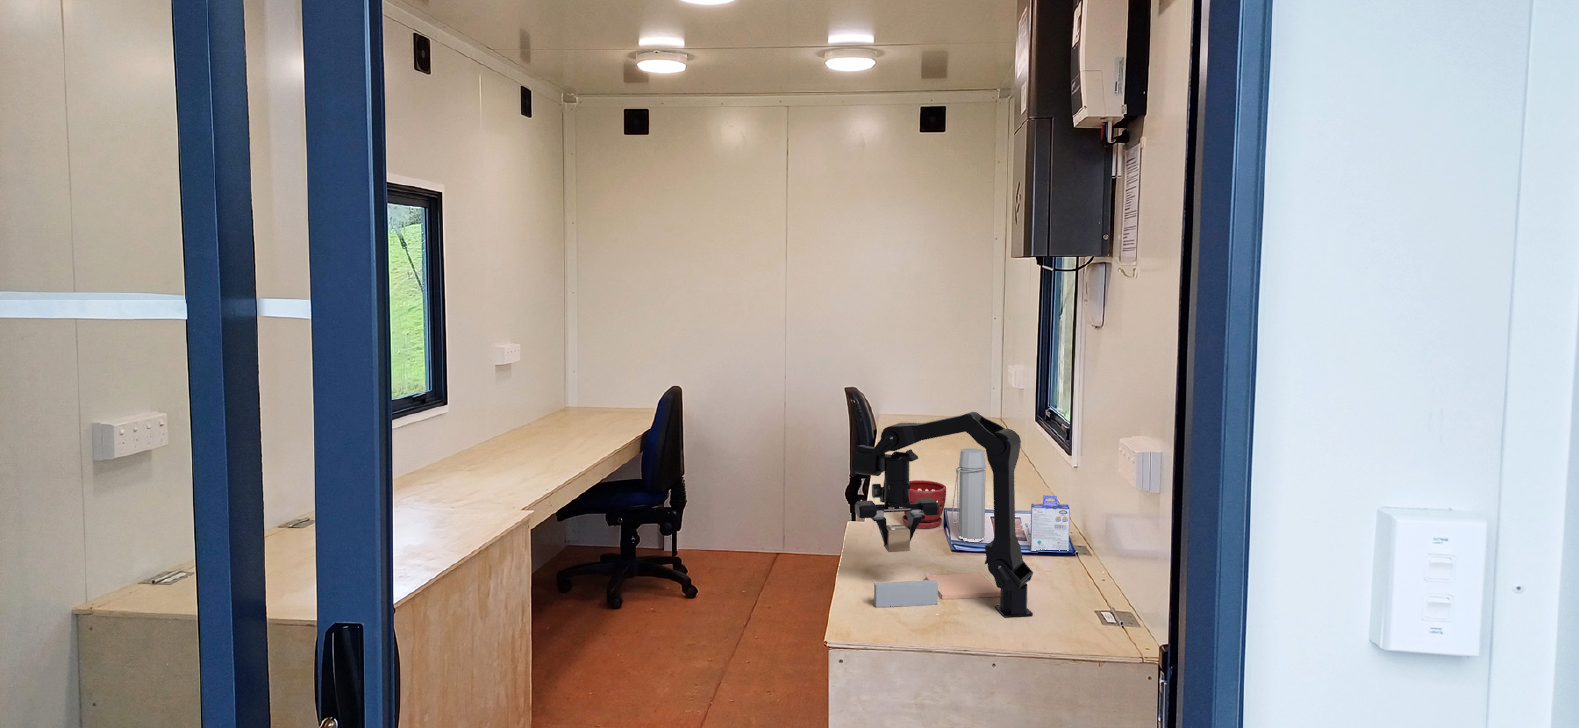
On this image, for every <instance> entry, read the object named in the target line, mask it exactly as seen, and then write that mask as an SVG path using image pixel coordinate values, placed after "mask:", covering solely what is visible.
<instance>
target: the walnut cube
mask: <svg viewBox="0 0 1579 728" xmlns="http://www.w3.org/2000/svg"><path fill="white" fill-rule="evenodd" d="M883 547H884V549H885V550H886V552H888V553H903V552H904V553H905V552H906V553H907V552H910V551H911V541H910V530H909V529H908V528H907V525H906V524H905V523H904V524H887V545H884V544H883Z"/></svg>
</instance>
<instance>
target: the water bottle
mask: <svg viewBox="0 0 1579 728" xmlns="http://www.w3.org/2000/svg"><path fill="white" fill-rule="evenodd" d="M959 452H960V453H959V463H958V466H959V467H956V468H955V472H956V474H955V475H956V476H955V477H956V478H955V485H954V486H955V487H954V493H953V499H952V507H951V509H952V510H951V519H952V523H953V524H956V523H958V537H959V536H961V537H963V538H967V539H974V540H975V539H982V538H984V536H986V535H985V533H986V532H985V530H986V529H985V527H986V525H985V524H986V469H987V466H986V457H985V455H986V452H985V450H984V449H982V448H976V447H975V448H973V447H972V448H970V447H967V448H966V447H965V448H962V449H960V451H959ZM956 491H957V492H956ZM956 493H957V497H956ZM955 498H956V499H957V501H956V502H957V504H956V505H957V507H956V508H957V519H956V521H955V520H954V507H955ZM984 539H985V538H984Z"/></svg>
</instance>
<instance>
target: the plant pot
mask: <svg viewBox="0 0 1579 728" xmlns="http://www.w3.org/2000/svg"><path fill="white" fill-rule="evenodd" d="M909 484H910V489H909V502H910V503H916V501H917V499H920V498H932V499H933V500H934V501H935V502H936V503H937V504H938V505H939V515H925V514H924V513H923V515H924V516H925V519H922V520H921V521H920V523H919V525H918V526H917V528H916V529H932V528H937V527H939V526H940V525H941V524H942V522H943V518H942V517H941V516H942V515H943V513H944V509H945V506H946V500H947V487H946V485H945V484H943V483H940V482H937V481H931V480H923V479H920V480H909ZM901 508H905V507H901ZM903 513H904V515H902V517H901V519H902V522H903V523H904V524H905V525H906V526H907V523H908V517H907V512H903Z"/></svg>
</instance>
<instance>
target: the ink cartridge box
mask: <svg viewBox="0 0 1579 728" xmlns="http://www.w3.org/2000/svg"><path fill="white" fill-rule="evenodd" d="M1047 499H1053V500H1054V501H1052V500H1047ZM1070 510H1071V509H1070V506H1069V504H1067V503H1066V504H1065V503H1063V504H1061V503H1060V504H1058V496H1057V495H1043V498H1042V503H1031V507H1030V552H1031V551H1036V550H1040V549H1041V550H1042V549H1045V550H1046V549H1048V550H1059V551H1060V550H1067V551H1069V549H1070V519H1071V516H1070V514H1071V512H1070Z"/></svg>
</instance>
